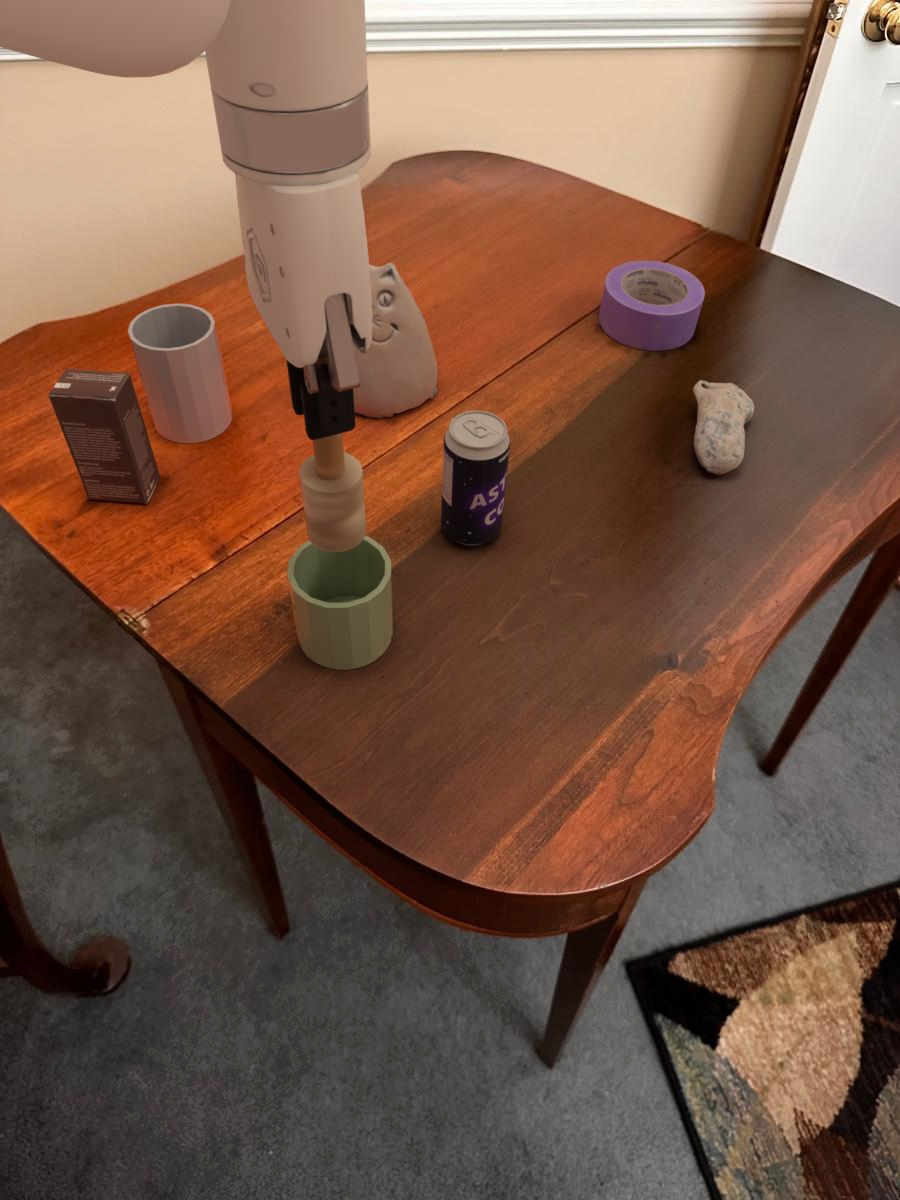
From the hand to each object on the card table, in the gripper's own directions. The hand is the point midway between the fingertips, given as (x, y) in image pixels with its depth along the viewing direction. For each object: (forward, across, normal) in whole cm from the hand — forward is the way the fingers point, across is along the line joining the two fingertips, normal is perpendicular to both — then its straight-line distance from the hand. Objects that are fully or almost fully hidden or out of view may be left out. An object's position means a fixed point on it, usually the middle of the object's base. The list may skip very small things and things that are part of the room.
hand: (324, 418), depth 57 cm
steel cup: (+22, -32, -5) cm, 40 cm away
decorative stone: (+22, -8, +45) cm, 51 cm away
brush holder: (+22, 0, 0) cm, 22 cm away
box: (+22, -24, -14) cm, 36 cm away
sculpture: (+22, -30, +15) cm, 41 cm away
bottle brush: (+11, 0, 0) cm, 11 cm away
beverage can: (+22, -6, +15) cm, 28 cm away
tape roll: (+22, -30, +50) cm, 63 cm away
